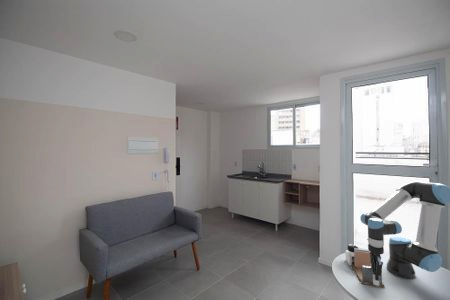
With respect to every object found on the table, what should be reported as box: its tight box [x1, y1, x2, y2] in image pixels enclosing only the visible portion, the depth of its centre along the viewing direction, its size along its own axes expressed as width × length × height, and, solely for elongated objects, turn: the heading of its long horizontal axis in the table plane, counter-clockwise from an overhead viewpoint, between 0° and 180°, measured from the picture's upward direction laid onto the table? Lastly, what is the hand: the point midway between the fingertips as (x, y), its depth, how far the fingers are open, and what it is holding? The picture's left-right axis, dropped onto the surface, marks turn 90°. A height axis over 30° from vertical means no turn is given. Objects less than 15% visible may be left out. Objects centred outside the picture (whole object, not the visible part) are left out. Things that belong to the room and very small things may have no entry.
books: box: [354, 248, 371, 268], centre depth 143 cm, size 10×2×12 cm, turn 72°
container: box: [345, 244, 359, 266], centre depth 151 cm, size 8×8×13 cm
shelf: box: [351, 264, 385, 288], centre depth 135 cm, size 12×21×2 cm, turn 162°
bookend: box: [362, 265, 383, 284], centre depth 127 cm, size 10×2×9 cm, turn 72°
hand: (376, 284), depth 120 cm, fingers closed
